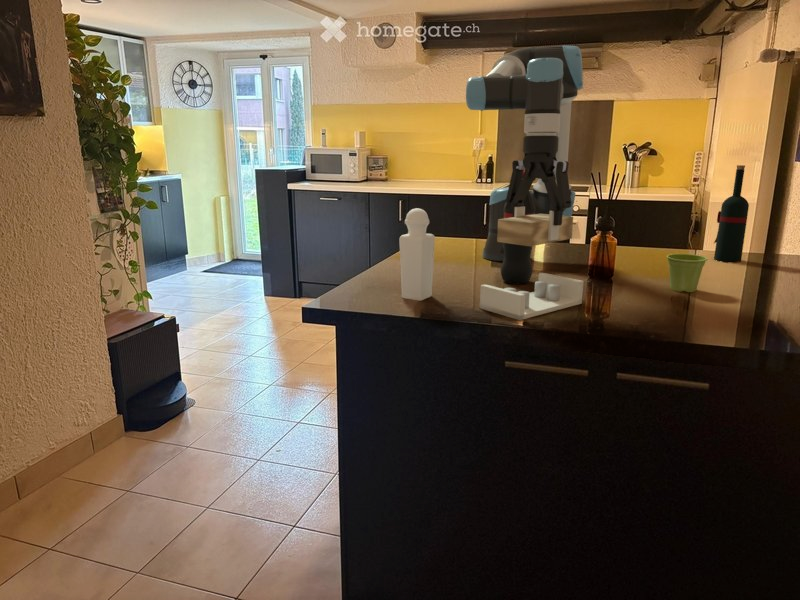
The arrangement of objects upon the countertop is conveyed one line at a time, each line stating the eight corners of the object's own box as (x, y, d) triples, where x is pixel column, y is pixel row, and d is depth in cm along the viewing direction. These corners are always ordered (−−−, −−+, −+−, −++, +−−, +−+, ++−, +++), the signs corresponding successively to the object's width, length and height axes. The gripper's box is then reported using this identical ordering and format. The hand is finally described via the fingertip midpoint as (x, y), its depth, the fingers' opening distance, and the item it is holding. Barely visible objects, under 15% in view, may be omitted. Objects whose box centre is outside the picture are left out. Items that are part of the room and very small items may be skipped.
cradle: (541, 293, 148) (542, 272, 147) (581, 303, 139) (583, 281, 137) (479, 308, 135) (480, 285, 134) (519, 320, 126) (520, 295, 125)
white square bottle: (421, 301, 141) (422, 210, 135) (398, 298, 144) (398, 208, 139) (434, 296, 146) (435, 207, 141) (412, 292, 150) (412, 206, 144)
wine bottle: (724, 256, 196) (737, 164, 188) (747, 262, 186) (761, 165, 178) (703, 257, 194) (715, 164, 186) (725, 263, 184) (739, 166, 177)
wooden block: (530, 246, 124) (531, 223, 123) (497, 241, 131) (498, 219, 130) (571, 238, 135) (573, 216, 134) (539, 234, 141) (540, 213, 140)
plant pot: (686, 295, 145) (691, 261, 143) (655, 288, 153) (658, 255, 151) (711, 291, 150) (715, 258, 147) (679, 284, 158) (683, 252, 155)
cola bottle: (533, 279, 164) (539, 170, 156) (529, 286, 156) (536, 171, 148) (503, 277, 166) (507, 169, 158) (498, 284, 158) (502, 171, 151)
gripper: (492, 135, 133) (488, 233, 139) (572, 133, 116) (564, 245, 122) (514, 135, 138) (510, 230, 143) (595, 134, 121) (586, 241, 127)
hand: (535, 237), depth 133 cm, fingers closed on wooden block, 9 cm apart
